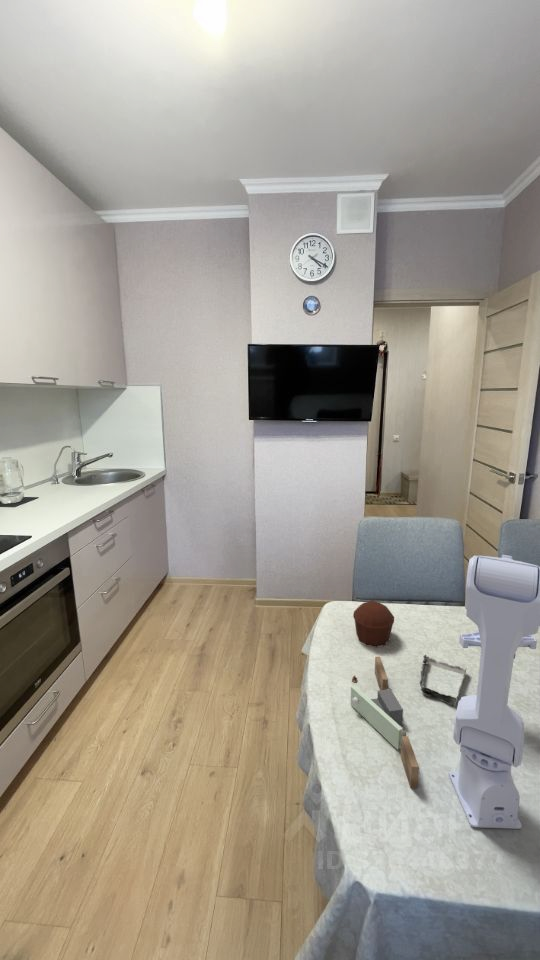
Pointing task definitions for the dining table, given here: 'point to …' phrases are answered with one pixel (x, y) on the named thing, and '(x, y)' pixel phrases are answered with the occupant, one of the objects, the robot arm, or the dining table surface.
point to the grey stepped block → (389, 705)
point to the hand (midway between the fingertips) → (493, 676)
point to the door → (376, 717)
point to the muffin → (373, 623)
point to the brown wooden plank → (406, 748)
